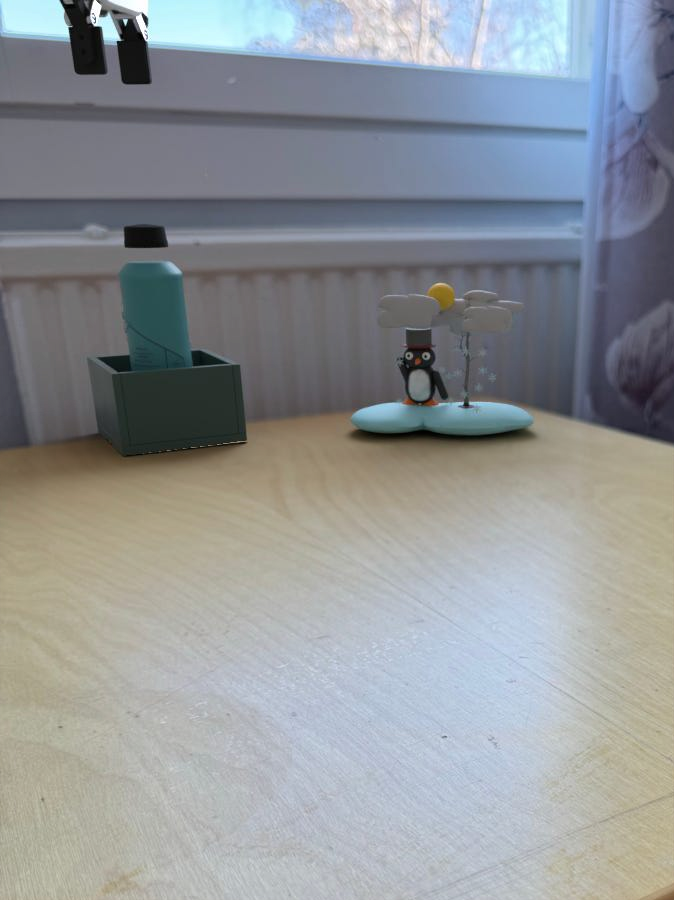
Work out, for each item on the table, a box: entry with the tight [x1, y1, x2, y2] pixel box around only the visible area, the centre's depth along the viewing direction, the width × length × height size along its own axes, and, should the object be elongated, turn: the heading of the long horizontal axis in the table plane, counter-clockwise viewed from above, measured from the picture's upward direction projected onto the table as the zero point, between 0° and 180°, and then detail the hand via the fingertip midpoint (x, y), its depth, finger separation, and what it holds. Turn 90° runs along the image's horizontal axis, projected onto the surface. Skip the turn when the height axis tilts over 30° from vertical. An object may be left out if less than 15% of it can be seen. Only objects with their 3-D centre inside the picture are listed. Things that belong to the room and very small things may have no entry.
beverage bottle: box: [117, 223, 194, 371], centre depth 102 cm, size 6×7×20 cm
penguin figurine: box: [350, 282, 535, 436], centre depth 107 cm, size 20×11×15 cm, turn 87°
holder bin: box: [86, 348, 248, 457], centre depth 105 cm, size 13×13×8 cm
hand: (115, 79), depth 102 cm, fingers open, 9 cm apart
